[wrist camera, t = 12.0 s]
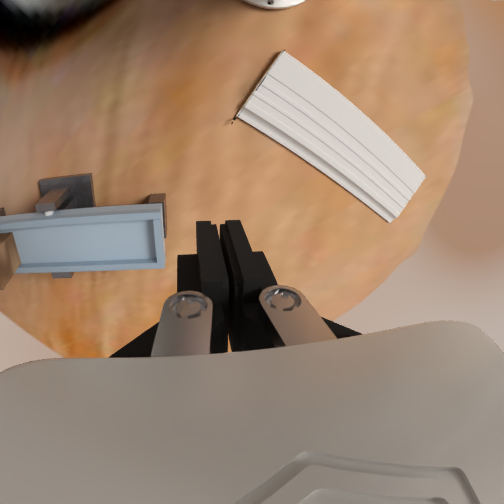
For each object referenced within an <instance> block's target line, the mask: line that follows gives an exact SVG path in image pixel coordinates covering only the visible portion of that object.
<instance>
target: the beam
mask: <svg viewBox="0 0 504 504" xmlns="http://www.w3.org/2000/svg"><path fill="white" fill-rule="evenodd" d="M8 232H13V236H14V240H15V243H16V247H17V250H18V253H19V257H20V260H21V264H20V265H19V267H18V268H17V270H16V271H15V273H47V272H80V271H109V270H135V269H160V268H165V259H166V255H165V243H164V229H163V214H162V203H158V204H138V205H121V206H106V207H92V208H79V209H67V210H56V211H53V210H52V211H44V212H35V213H26V214H17V215H8V216H0V233H8Z"/></svg>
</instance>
